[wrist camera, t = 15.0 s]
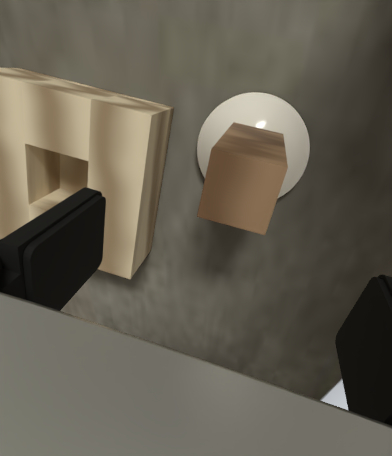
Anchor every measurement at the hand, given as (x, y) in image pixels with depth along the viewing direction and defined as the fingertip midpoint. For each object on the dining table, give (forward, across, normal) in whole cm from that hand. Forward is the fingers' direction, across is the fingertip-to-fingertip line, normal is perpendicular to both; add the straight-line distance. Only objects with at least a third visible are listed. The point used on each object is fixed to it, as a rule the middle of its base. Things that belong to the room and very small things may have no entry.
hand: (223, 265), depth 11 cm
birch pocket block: (+20, +16, +7) cm, 27 cm away
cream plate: (+21, 0, +1) cm, 21 cm away
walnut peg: (+20, 0, +1) cm, 20 cm away
